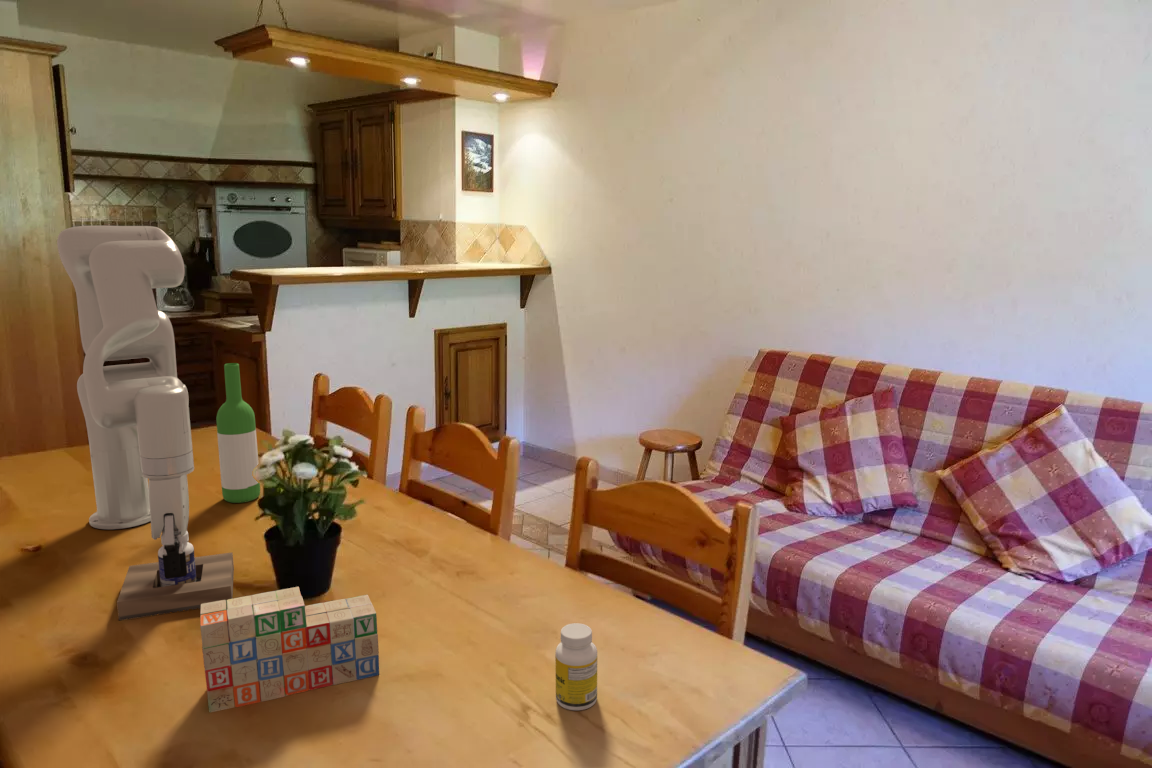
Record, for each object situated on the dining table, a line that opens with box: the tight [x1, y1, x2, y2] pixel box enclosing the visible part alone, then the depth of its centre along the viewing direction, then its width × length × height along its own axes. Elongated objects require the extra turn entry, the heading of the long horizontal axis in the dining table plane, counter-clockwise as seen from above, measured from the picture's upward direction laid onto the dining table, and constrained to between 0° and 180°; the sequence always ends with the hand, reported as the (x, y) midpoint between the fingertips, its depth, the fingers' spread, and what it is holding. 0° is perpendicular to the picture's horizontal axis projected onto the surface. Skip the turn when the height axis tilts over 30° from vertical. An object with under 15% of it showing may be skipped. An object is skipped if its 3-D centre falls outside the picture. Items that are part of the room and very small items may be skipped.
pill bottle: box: [157, 529, 196, 587], centre depth 131 cm, size 5×5×9 cm
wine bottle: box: [215, 362, 261, 504], centre depth 174 cm, size 8×8×30 cm
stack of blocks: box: [199, 586, 380, 713], centre depth 106 cm, size 21×6×12 cm, turn 114°
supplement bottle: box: [555, 622, 598, 711], centre depth 103 cm, size 5×5×10 cm
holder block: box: [116, 552, 235, 621], centre depth 132 cm, size 14×16×3 cm
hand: (177, 568), depth 132 cm, fingers closed on pill bottle, 5 cm apart
